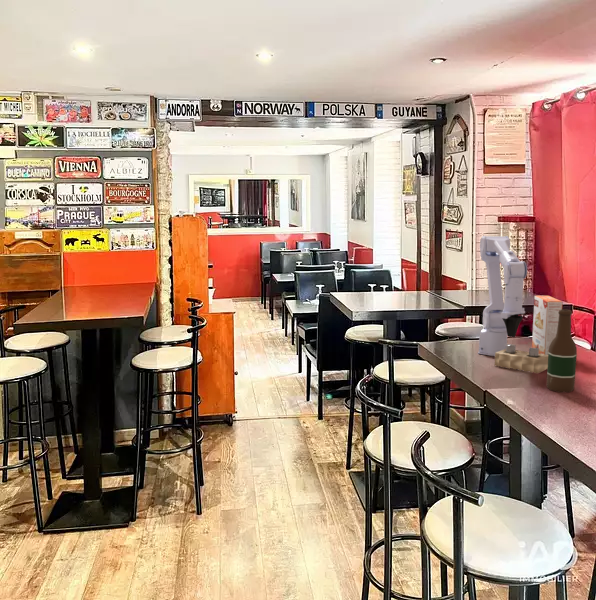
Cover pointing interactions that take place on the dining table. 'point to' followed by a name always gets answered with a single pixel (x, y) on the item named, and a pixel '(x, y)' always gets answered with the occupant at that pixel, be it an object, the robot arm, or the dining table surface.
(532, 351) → the peg
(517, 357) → the socket block
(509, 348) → the peg
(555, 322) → the cracker box
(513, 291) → the robot arm
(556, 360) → the beer bottle
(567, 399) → the dining table surface
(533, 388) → the dining table surface
